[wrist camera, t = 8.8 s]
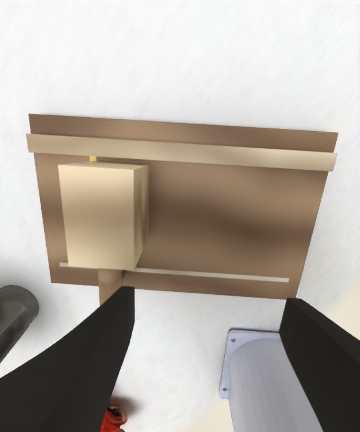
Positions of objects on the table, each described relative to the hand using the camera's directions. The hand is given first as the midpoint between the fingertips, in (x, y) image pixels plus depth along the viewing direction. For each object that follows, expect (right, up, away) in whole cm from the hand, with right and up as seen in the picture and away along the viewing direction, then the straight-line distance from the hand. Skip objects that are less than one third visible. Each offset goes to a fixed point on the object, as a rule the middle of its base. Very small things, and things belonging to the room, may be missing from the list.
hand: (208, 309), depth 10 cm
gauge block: (-6, +4, +7) cm, 10 cm away
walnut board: (-2, +5, +8) cm, 10 cm away
